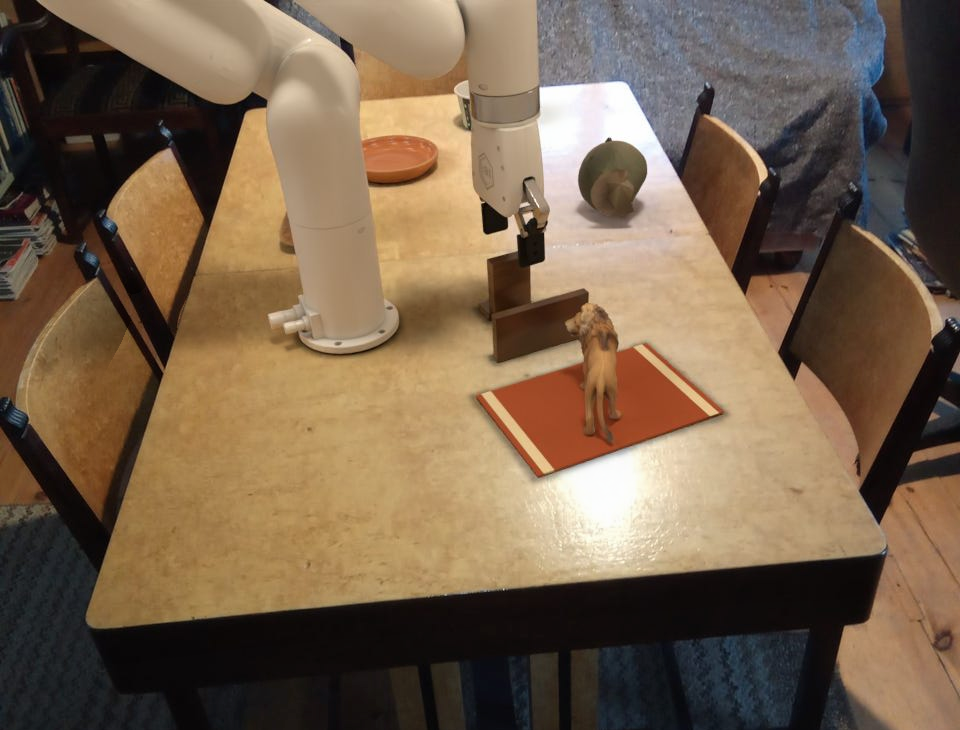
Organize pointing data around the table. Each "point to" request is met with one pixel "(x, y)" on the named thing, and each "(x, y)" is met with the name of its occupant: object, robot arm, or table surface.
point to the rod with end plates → (525, 310)
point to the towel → (595, 410)
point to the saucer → (397, 157)
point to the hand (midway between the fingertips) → (513, 247)
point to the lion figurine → (597, 362)
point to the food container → (464, 102)
